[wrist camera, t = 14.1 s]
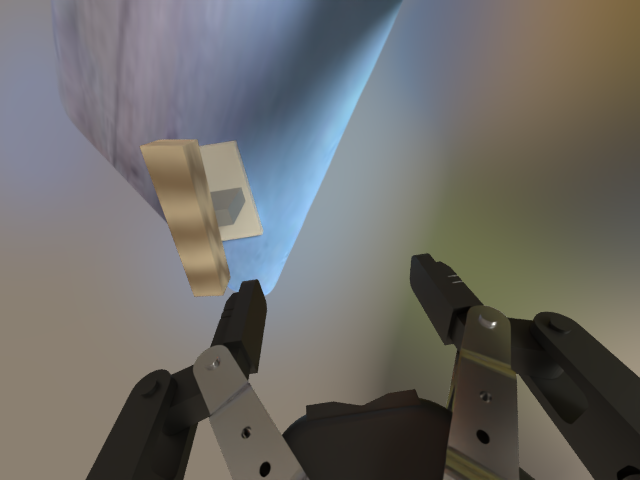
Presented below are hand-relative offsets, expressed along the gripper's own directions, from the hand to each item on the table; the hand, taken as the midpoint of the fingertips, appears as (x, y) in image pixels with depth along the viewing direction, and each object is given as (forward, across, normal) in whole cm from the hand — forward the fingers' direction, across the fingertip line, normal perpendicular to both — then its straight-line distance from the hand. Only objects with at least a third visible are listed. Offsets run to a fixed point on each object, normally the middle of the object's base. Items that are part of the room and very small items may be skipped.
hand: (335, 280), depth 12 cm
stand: (+30, +16, +4) cm, 34 cm away
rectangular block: (+20, +16, +4) cm, 26 cm away
